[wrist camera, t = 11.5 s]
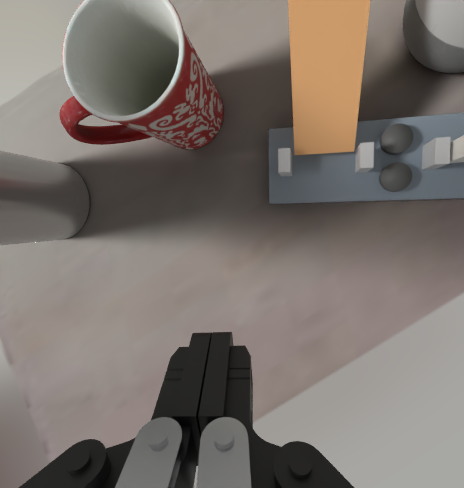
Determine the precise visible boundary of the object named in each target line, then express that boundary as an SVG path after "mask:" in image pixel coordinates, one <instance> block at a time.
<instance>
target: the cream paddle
mask: <svg viewBox="0 0 464 488" xmlns="http://www.w3.org/2000/svg"><path fill="white" fill-rule="evenodd" d="M459 162H464V135H463V136H461V137H459V138H457V139H456V140H454V141H452V142H450V163H459Z"/></svg>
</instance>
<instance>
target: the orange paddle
mask: <svg viewBox="0 0 464 488" xmlns="http://www.w3.org/2000/svg"><path fill="white" fill-rule="evenodd" d="M288 4H289V29H290V54H291V79H292V104H293V128H294V153H295V155H307V154H323V153H338V152H354V149H355V139H356V130H357V121H358V111H359V102H360V93H361V83H362V74H363V65H364V55H365V46H366V36H367V27H368V18H369V8H370V0H288Z"/></svg>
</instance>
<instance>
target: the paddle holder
mask: <svg viewBox="0 0 464 488" xmlns="http://www.w3.org/2000/svg"><path fill="white" fill-rule="evenodd" d="M268 131H269V203H270V204H293V203H328V202H364V201H399V200H434V199H464V162H459V163H450V142H452V141H454V140H456V139H457V138H459V137H461V136H463V135H464V113H453V114H441V115H429V116H417V117H405V118H394V119H382V120H370V121H358V122H357V130H356V139H355V149H354V152H338V153H323V154H307V155H295V153H294V128H293V127H287V128H275V129H268Z"/></svg>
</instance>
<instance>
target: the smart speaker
mask: <svg viewBox="0 0 464 488" xmlns="http://www.w3.org/2000/svg"><path fill="white" fill-rule="evenodd" d="M403 33H404V38H405V42H406V45H407V47H408V49H409V51H410V52H411V54H412V55H413V56H414V58H415V59H416V60H417V61H418V62H420V63H421V64H422V65H424V66H426V67H428V68H430V69H432V70H435V71H439V72H445V73H458V72H464V0H406V4H405V8H404V15H403Z"/></svg>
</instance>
